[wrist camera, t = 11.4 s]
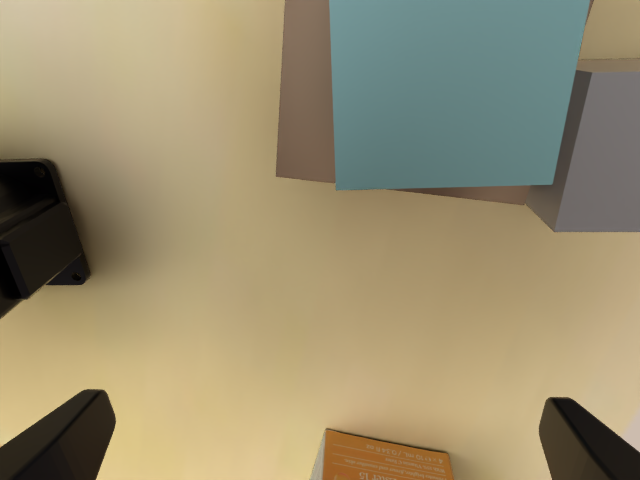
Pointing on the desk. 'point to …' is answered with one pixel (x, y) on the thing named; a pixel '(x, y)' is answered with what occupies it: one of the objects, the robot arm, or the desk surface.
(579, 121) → the grey cube
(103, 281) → the desk surface
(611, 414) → the desk surface
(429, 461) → the small box
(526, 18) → the teal cube
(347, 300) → the desk surface
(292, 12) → the walnut block
